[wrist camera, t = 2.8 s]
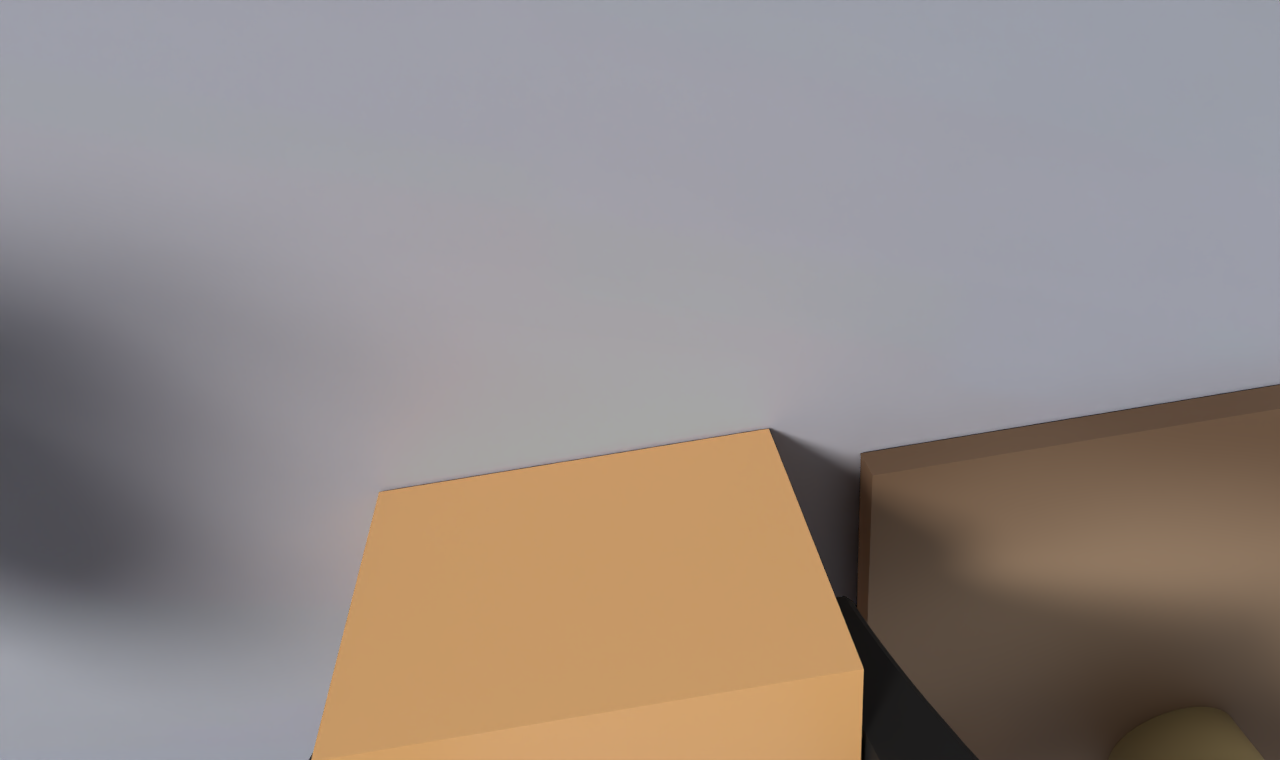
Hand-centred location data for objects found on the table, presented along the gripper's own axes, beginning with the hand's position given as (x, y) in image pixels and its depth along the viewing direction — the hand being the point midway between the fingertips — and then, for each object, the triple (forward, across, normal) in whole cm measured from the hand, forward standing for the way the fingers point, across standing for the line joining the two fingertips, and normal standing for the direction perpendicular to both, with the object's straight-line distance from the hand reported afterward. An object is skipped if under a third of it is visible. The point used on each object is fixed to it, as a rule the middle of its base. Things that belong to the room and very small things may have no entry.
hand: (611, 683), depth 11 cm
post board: (+2, -10, +6) cm, 12 cm away
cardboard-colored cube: (+2, 0, 0) cm, 2 cm away
